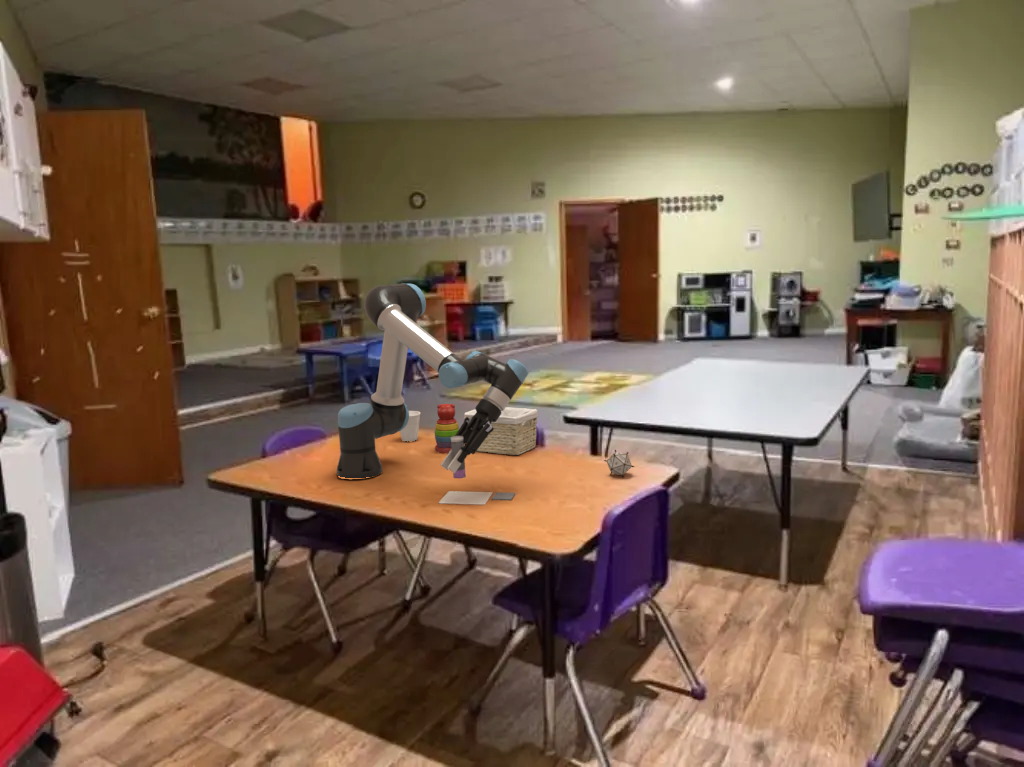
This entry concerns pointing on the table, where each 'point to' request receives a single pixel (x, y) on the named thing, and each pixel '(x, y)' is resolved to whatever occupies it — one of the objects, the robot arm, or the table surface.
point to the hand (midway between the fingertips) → (447, 468)
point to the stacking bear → (445, 427)
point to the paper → (466, 498)
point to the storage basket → (510, 431)
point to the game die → (619, 463)
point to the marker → (456, 446)
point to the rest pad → (503, 496)
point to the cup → (411, 427)
